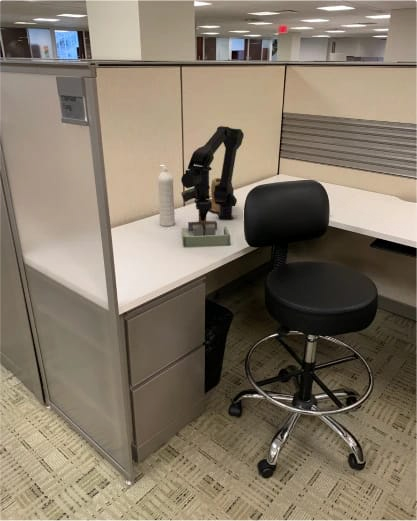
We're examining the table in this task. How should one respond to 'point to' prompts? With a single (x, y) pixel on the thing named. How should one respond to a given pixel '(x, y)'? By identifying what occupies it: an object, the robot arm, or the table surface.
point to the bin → (206, 239)
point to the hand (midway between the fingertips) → (202, 219)
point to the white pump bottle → (166, 197)
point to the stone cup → (214, 182)
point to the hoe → (190, 224)
